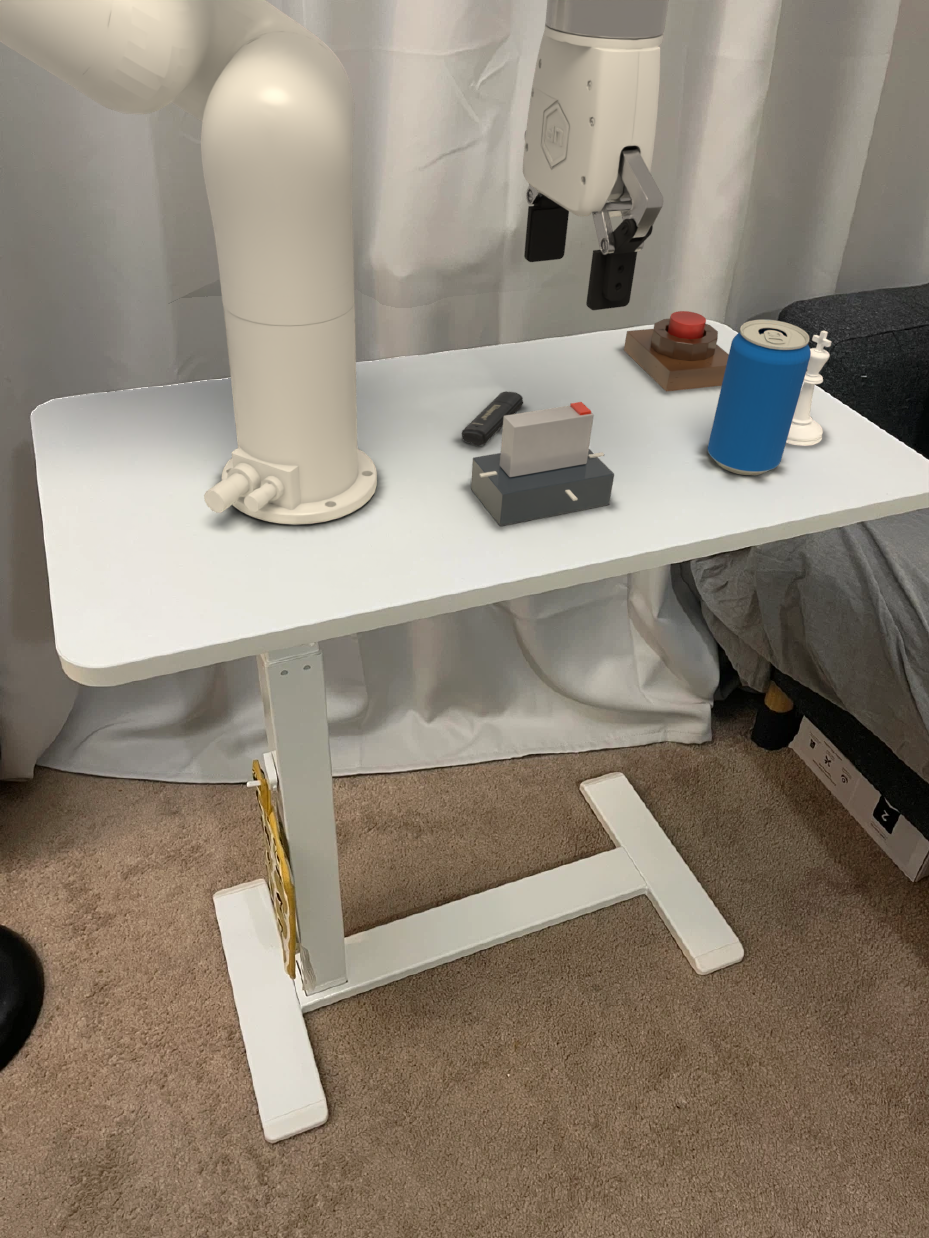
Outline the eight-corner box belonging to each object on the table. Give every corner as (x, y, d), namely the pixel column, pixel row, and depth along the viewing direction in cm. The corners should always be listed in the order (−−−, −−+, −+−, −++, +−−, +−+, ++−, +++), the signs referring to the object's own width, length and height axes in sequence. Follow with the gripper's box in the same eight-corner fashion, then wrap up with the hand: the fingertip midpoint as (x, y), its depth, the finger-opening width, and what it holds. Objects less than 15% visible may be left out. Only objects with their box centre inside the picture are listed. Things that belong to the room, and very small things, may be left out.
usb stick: (500, 401, 96) (501, 386, 95) (525, 407, 96) (526, 393, 95) (457, 443, 90) (458, 427, 89) (484, 450, 89) (485, 435, 88)
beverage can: (773, 446, 92) (807, 321, 84) (783, 483, 87) (821, 353, 79) (702, 440, 92) (730, 314, 85) (709, 476, 87) (739, 345, 80)
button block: (736, 384, 102) (745, 347, 99) (666, 392, 100) (673, 354, 97) (689, 344, 109) (697, 309, 107) (623, 350, 107) (629, 314, 105)
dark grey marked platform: (506, 545, 77) (510, 511, 75) (451, 474, 85) (453, 441, 83) (631, 520, 81) (638, 486, 79) (568, 454, 89) (572, 422, 87)
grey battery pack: (509, 478, 79) (514, 424, 76) (499, 465, 81) (503, 412, 78) (586, 464, 82) (594, 411, 79) (575, 452, 83) (582, 400, 80)
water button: (709, 340, 101) (712, 323, 100) (677, 343, 100) (680, 326, 99) (692, 326, 104) (695, 309, 103) (661, 328, 103) (664, 312, 102)
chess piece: (791, 416, 97) (819, 316, 91) (832, 437, 94) (864, 336, 88) (757, 428, 95) (784, 327, 88) (798, 451, 92) (829, 347, 85)
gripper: (494, -9, 67) (479, 248, 78) (625, 39, 55) (586, 334, 66) (591, -9, 70) (564, 239, 81) (736, 36, 58) (682, 321, 69)
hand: (574, 282), depth 73 cm, fingers open, 9 cm apart
